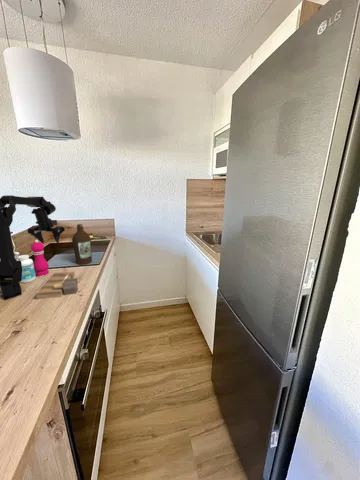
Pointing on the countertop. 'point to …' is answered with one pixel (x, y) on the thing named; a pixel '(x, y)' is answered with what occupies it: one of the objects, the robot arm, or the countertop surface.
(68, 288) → the grey and beige block
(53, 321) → the countertop surface
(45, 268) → the pepper mill
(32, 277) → the pill bottle
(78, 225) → the olive oil
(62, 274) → the plank
